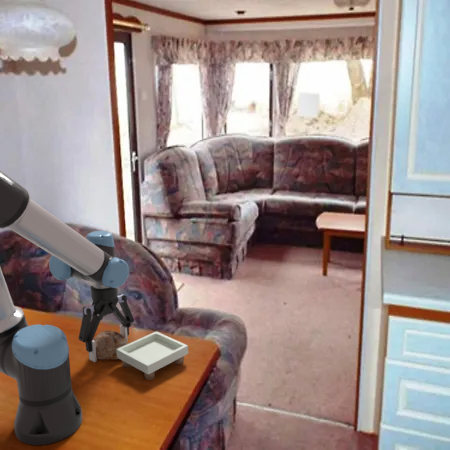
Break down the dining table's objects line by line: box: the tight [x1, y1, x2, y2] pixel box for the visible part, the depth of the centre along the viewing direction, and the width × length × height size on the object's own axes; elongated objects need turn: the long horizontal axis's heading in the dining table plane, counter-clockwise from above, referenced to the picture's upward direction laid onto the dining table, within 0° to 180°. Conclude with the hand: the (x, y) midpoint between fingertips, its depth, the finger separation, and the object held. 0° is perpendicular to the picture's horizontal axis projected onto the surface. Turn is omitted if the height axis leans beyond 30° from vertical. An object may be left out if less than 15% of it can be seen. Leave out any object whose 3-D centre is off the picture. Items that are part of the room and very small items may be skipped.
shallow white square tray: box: [116, 330, 189, 381], centre depth 145 cm, size 15×14×5 cm
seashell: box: [93, 329, 130, 360], centre depth 150 cm, size 10×9×10 cm
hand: (109, 352), depth 151 cm, fingers closed on seashell, 11 cm apart
